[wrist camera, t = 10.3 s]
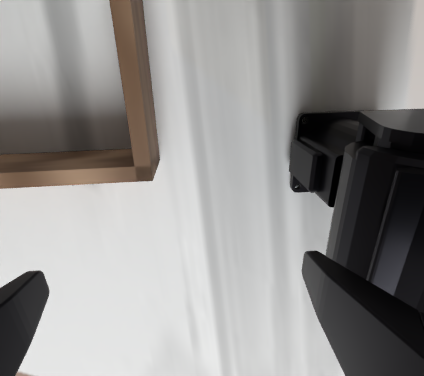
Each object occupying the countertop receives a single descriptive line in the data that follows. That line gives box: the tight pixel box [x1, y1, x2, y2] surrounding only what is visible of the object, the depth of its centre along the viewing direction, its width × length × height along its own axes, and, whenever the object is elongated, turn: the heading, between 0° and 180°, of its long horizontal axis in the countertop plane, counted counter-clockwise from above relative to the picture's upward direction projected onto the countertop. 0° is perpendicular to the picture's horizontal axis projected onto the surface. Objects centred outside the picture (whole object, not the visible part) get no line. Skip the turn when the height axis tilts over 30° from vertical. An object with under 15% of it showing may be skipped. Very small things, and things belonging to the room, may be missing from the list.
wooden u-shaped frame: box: [0, 0, 160, 189], centre depth 16 cm, size 16×11×4 cm
